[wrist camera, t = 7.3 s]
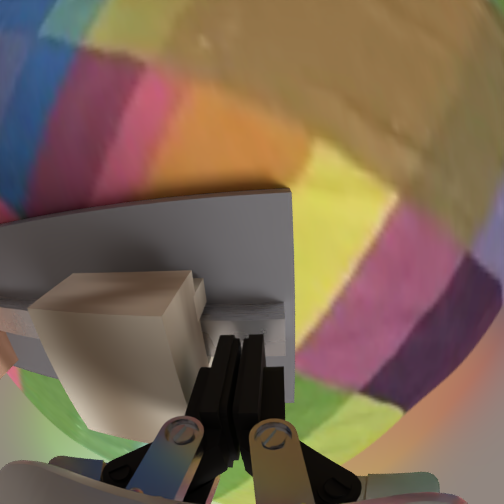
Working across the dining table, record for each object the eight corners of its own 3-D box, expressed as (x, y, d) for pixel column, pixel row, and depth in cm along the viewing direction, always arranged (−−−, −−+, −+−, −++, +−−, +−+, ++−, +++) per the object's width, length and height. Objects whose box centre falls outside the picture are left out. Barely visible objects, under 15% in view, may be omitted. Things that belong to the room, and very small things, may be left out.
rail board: (289, 188, 13) (303, 219, 7) (293, 385, 17) (296, 471, 11) (-34, 231, 16) (-86, 257, 10) (8, 352, 20) (-29, 391, 13)
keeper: (200, 256, 13) (161, 316, 8) (220, 377, 15) (203, 450, 10) (89, 261, 13) (27, 307, 9) (123, 370, 16) (88, 429, 11)
